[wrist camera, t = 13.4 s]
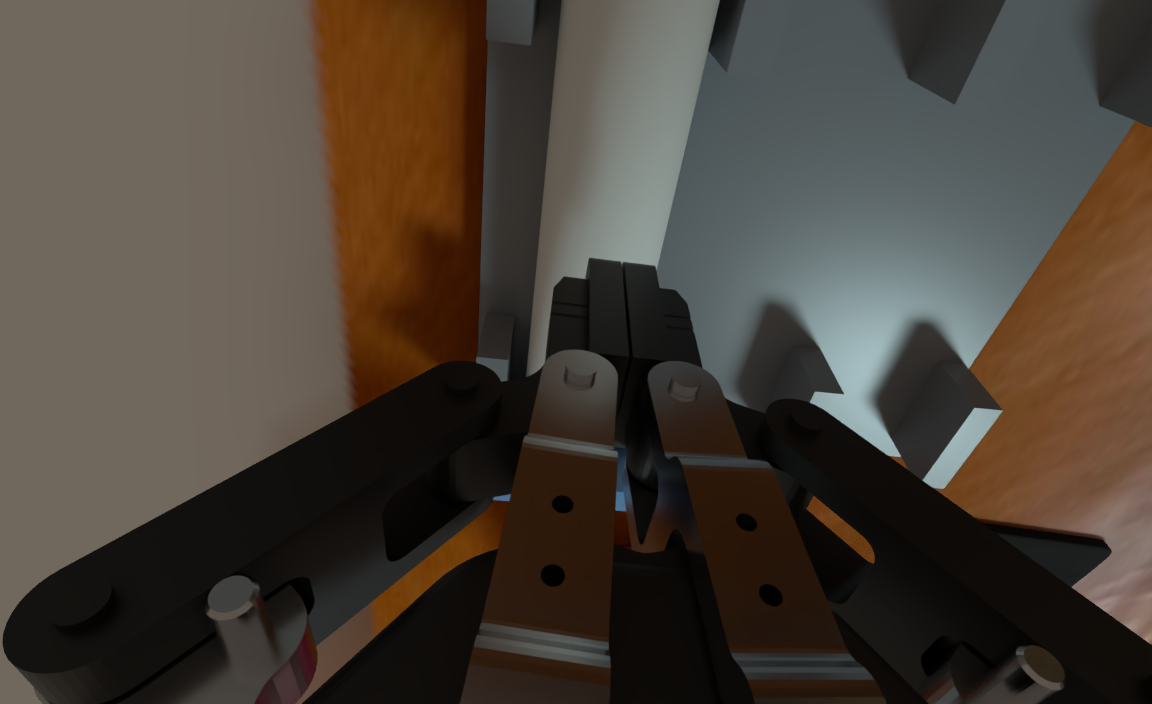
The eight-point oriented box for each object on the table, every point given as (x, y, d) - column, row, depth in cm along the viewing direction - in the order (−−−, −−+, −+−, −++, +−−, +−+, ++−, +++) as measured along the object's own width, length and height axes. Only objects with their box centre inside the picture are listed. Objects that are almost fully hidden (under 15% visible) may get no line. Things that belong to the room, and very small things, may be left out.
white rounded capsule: (572, -148, 13) (580, -158, 10) (725, -123, 14) (771, -126, 11) (522, 393, 23) (519, 462, 20) (613, 399, 23) (622, 468, 20)
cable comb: (501, -246, 13) (467, -308, 9) (1255, -116, 14) (1515, -121, 10) (479, 399, 24) (459, 497, 21) (898, 440, 26) (956, 539, 22)
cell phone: (795, 678, 40) (799, 693, 39) (947, 512, 29) (956, 528, 29) (916, 691, 41) (923, 705, 40) (1105, 534, 30) (1119, 550, 30)
